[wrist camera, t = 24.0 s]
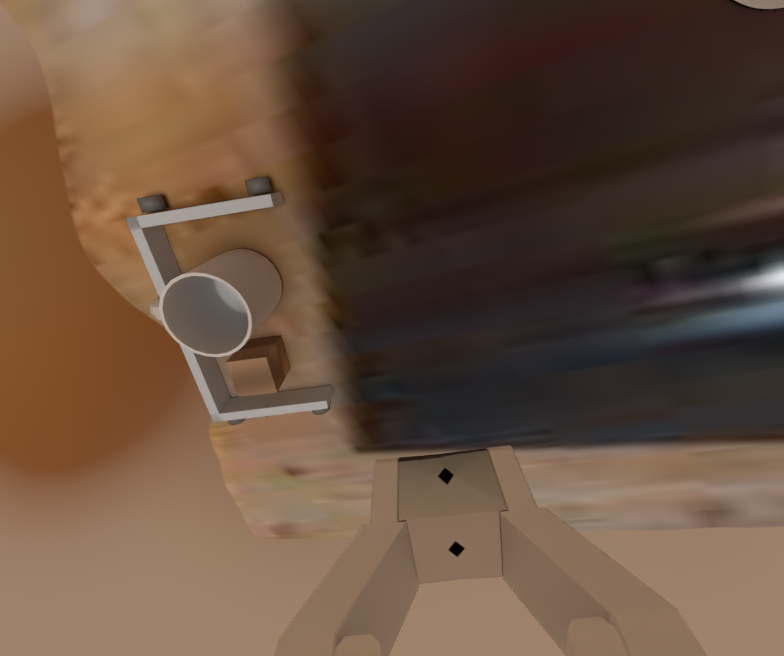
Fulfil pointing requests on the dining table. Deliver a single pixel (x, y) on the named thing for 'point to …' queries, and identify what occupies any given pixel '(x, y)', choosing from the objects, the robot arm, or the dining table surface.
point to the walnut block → (259, 366)
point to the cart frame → (166, 268)
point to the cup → (219, 302)
